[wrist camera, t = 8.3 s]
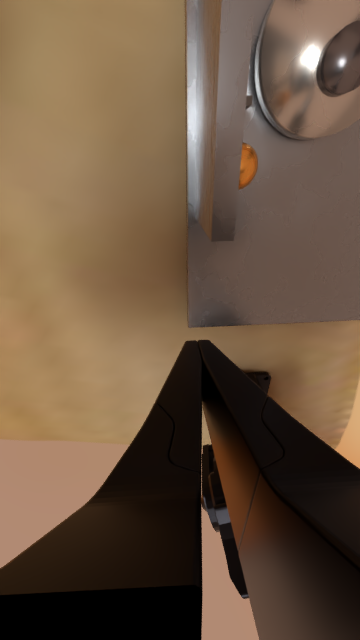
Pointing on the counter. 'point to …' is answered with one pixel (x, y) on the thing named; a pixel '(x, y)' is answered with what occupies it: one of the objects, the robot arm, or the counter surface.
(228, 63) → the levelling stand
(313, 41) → the crank handle
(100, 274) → the counter surface
